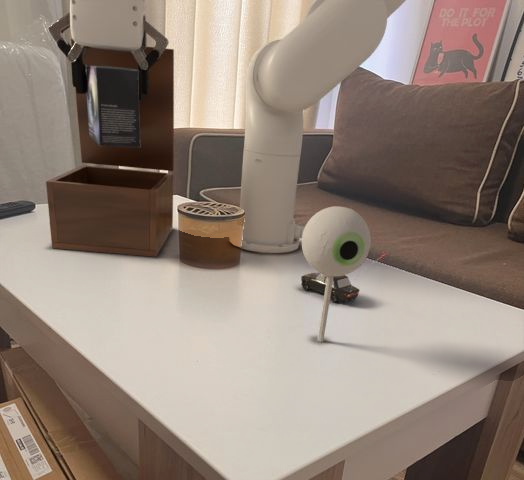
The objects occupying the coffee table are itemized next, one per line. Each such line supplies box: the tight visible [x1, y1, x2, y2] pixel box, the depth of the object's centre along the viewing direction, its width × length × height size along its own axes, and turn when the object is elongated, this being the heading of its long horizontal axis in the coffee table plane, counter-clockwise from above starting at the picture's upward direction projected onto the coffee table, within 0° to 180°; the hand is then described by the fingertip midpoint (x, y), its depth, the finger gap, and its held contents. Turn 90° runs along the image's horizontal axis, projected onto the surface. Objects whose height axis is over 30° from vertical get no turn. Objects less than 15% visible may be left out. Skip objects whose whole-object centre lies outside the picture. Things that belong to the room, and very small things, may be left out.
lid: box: [70, 38, 175, 172], centre depth 90 cm, size 19×16×5 cm
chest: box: [45, 164, 174, 258], centre depth 87 cm, size 18×16×10 cm
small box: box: [85, 65, 141, 148], centre depth 79 cm, size 11×6×10 cm, turn 25°
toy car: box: [300, 253, 387, 303], centre depth 71 cm, size 4×12×8 cm, turn 44°
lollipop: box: [301, 205, 372, 343], centre depth 56 cm, size 7×7×15 cm
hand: (111, 95), depth 79 cm, fingers closed on small box, 8 cm apart
